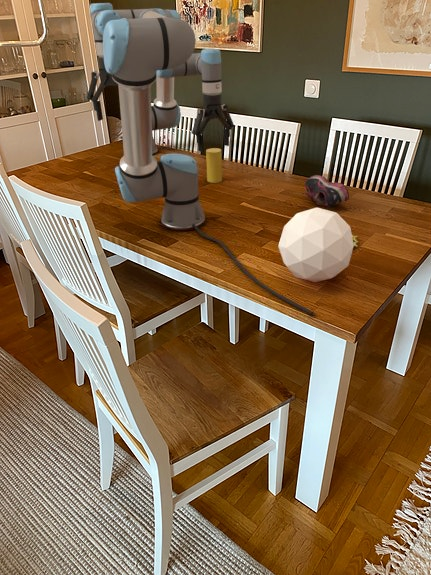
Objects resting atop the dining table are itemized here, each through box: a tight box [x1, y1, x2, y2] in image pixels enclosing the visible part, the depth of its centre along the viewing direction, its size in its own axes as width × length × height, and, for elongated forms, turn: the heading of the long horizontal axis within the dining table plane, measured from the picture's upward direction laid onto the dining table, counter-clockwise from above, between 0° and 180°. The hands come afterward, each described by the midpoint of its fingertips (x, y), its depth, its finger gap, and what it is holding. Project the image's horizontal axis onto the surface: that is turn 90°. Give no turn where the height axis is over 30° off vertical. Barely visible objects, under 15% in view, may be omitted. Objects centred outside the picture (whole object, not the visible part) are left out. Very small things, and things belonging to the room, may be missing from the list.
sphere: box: [277, 207, 355, 283], centre depth 118 cm, size 19×20×20 cm
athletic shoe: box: [302, 174, 350, 208], centre depth 165 cm, size 11×22×12 cm
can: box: [205, 147, 223, 184], centre depth 189 cm, size 6×6×13 cm
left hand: (214, 148), depth 185 cm, fingers open, 13 cm apart
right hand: (117, 120), depth 164 cm, fingers open, 13 cm apart
